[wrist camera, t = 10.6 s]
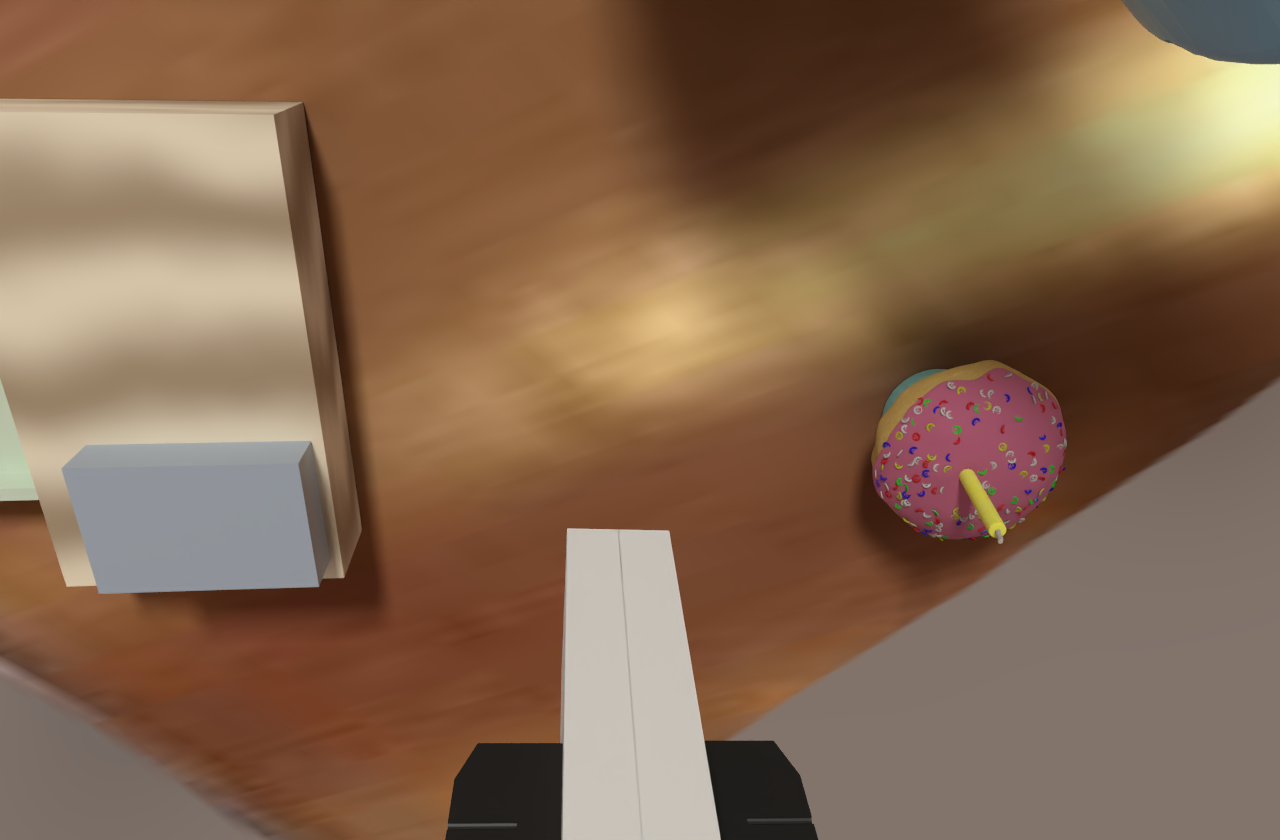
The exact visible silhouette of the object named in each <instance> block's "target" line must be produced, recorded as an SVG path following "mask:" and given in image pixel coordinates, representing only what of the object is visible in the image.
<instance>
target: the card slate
mask: <svg viewBox="0 0 1280 840" xmlns="http://www.w3.org/2000/svg"><path fill="white" fill-rule="evenodd" d="M61 469H62V473H63V476H64V479H65V483H66V486H67V489H68V492H69V496H70V499H71V502H72V506H73V509H74V512H75V516H76V519H77V522H78V526H79V529H80V532H81V535H82V539H83V542H84V545H85V549H86V552H87V555H88V559H89V562H90V565H91V569H92V572H93V575H94V578H95V582H96V585H97V588H98V592H99V594H109V593H140V592H172V591H204V590H235V589H267V588H299V587H319V586H320V583H321V581H322V578H323V576H324V574H325V571H326V569H327V566H328V564H329V561H330V557H329V550H328V544H327V538H326V531H325V525H324V519H323V513H322V506H321V500H320V494H319V488H318V481H317V475H316V469H315V462H314V456H313V450H312V444H311V441H273V442H219V443H165V444H110V445H85V446H84V447H83V448H82V449H81V450H80V451H79V452H78V453H77V454H76V455H75V456H74V457H73V458H72V459H71V460H70V461H69V462H68V463H67V464H65V465H64V466H63V467H62V468H61Z"/></svg>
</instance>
